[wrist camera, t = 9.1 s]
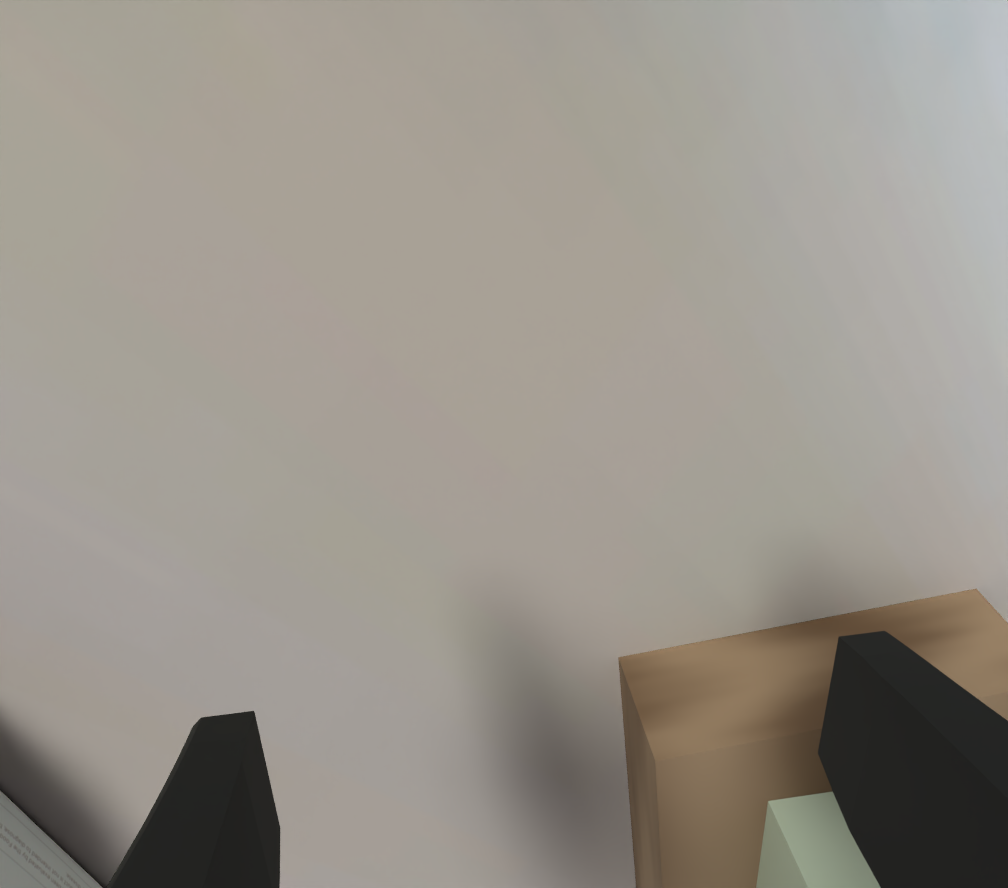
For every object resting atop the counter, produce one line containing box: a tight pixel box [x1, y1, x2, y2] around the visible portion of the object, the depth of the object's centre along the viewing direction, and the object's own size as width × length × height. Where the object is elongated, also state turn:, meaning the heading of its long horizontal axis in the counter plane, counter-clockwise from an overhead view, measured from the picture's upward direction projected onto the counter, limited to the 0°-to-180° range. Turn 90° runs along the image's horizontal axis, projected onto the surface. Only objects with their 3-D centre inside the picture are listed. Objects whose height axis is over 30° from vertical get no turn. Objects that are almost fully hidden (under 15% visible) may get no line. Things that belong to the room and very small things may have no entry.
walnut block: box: [619, 589, 1008, 888], centre depth 27 cm, size 10×10×4 cm
